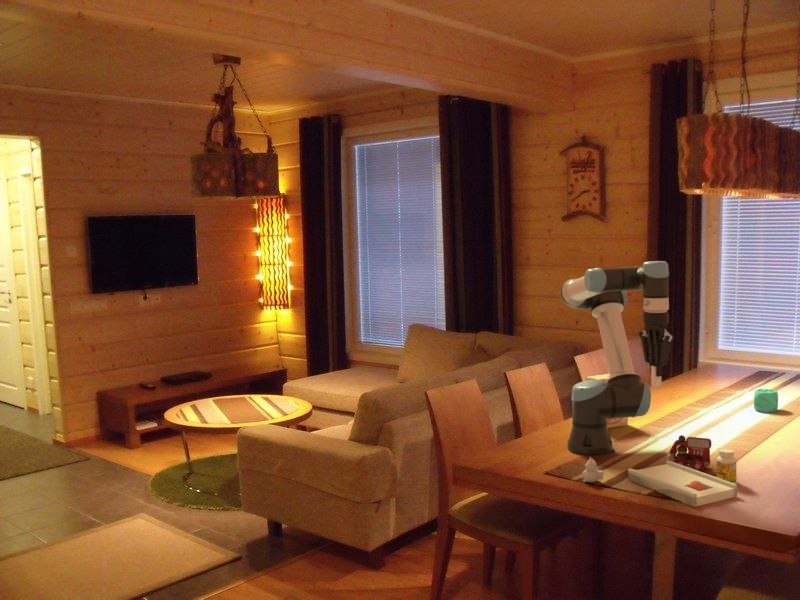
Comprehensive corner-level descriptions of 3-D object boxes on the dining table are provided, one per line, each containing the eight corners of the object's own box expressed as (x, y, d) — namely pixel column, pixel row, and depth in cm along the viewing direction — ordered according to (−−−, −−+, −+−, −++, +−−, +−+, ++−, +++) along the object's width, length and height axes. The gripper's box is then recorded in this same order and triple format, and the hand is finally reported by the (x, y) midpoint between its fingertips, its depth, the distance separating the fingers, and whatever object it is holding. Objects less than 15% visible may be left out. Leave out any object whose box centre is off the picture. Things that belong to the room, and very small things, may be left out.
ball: (684, 481, 217) (694, 482, 214) (694, 479, 219) (705, 479, 215) (687, 495, 217) (697, 496, 213) (697, 493, 219) (708, 494, 215)
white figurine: (585, 477, 234) (585, 452, 234) (606, 481, 231) (606, 455, 230) (579, 483, 230) (579, 457, 229) (601, 486, 226) (600, 460, 226)
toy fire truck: (672, 462, 246) (672, 431, 245) (713, 468, 239) (713, 435, 238) (667, 468, 240) (667, 436, 239) (709, 474, 233) (709, 441, 232)
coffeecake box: (597, 430, 287) (596, 379, 286) (585, 426, 294) (584, 376, 292) (629, 424, 293) (628, 375, 292) (616, 421, 300) (616, 372, 298)
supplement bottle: (740, 483, 224) (740, 451, 223) (727, 486, 222) (727, 454, 221) (725, 478, 229) (725, 447, 228) (712, 481, 227) (712, 449, 226)
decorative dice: (775, 413, 302) (776, 393, 302) (753, 411, 307) (753, 392, 306) (778, 409, 309) (778, 389, 308) (756, 407, 313) (756, 388, 313)
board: (628, 480, 231) (628, 468, 230) (668, 471, 237) (668, 460, 237) (694, 507, 207) (693, 494, 207) (736, 496, 214) (736, 484, 213)
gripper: (631, 310, 240) (632, 384, 242) (661, 313, 229) (662, 391, 231) (650, 308, 243) (650, 381, 246) (680, 311, 232) (681, 388, 234)
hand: (656, 386), depth 238 cm, fingers closed
